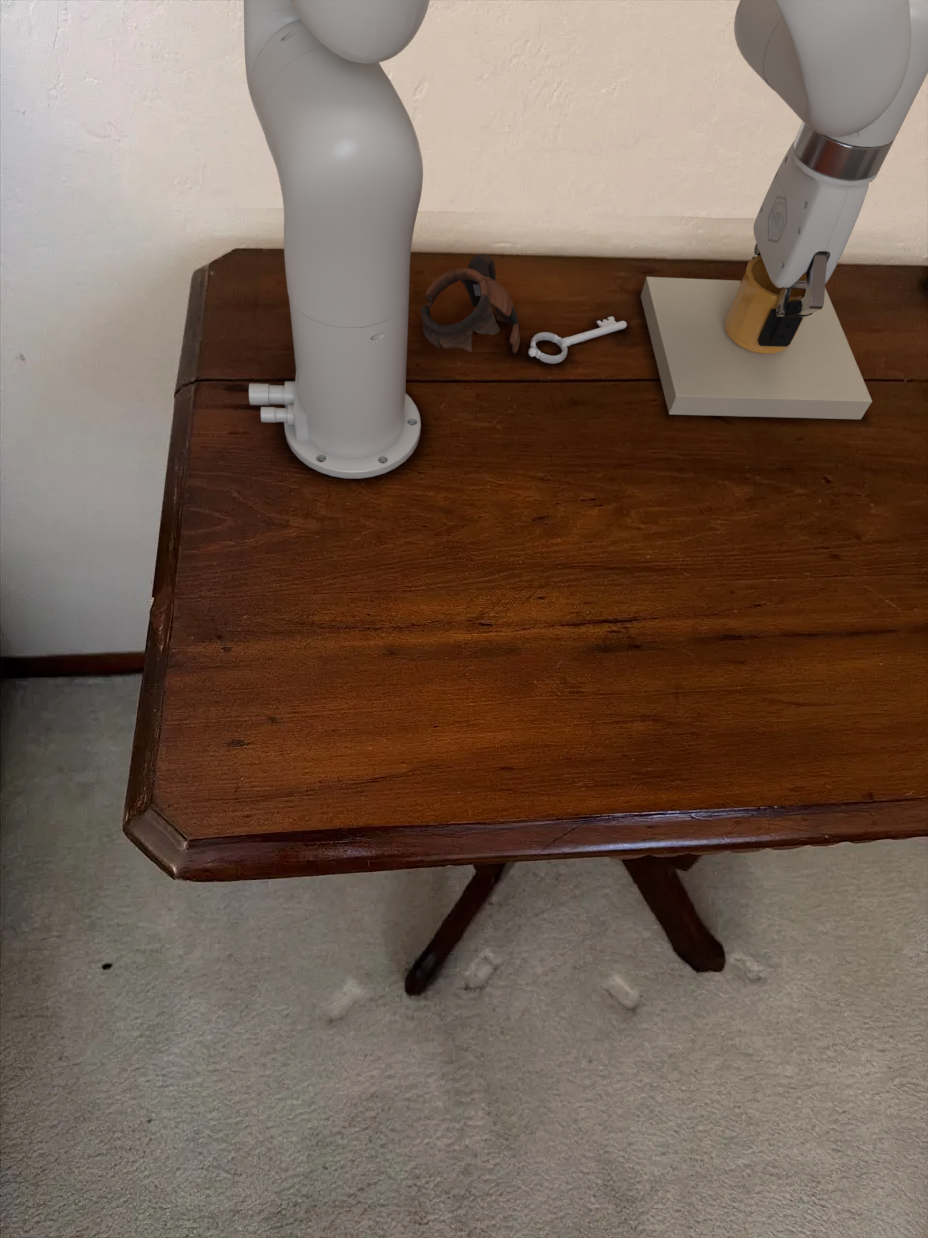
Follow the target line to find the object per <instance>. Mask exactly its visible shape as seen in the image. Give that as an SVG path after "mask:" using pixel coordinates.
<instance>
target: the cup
mask: <svg viewBox="0 0 928 1238" xmlns="http://www.w3.org/2000/svg"><path fill="white" fill-rule="evenodd" d="M754 257H755V258H753V257H752V258H753V259H752V258H751V260H750V261H748V263H747V265H746V266H745V267H746V268H745V270H744V273H743V275H742V278H741V280H740V281H741V282H740V285H739V287H738V290H737V292H736V294H735V297H734V299H733V302H732V304H731V307H730V309H729V312H728V315H727V318H726V320H725V329H726V331H727V333H728V335H729V336H730V338H731V339H732V340H733V341H734V342H735V343H737V344H738V345H740V346H741V347H743V348H745V349H747V350H750V351H753V352H757V353H763V354H772V353H778V352H781V351H783V350H785V349H786V348H787V347H788V346H787V347H776V346H760V345H759V344H758V338H759V335H760V333H761V331H762V329H763V327H764V324H765V322H766V320H767V318H768V316H769V313H770V311H771V309H776V308H777V303H778V299H779V294H780V289H781V288H777V287H776V286H775V285H774V284H773V283H772V281H771V279H770V277H769V275H768V273H767V270H766V267H765V265H764V262H763V259H762V257H761V255H759V256H758V255H755V256H754ZM806 277H807V274H803V275H802V276H801V277H800V278H799V279H798V280H802V281H806ZM802 293H803V289H791V293H790V298H789V302H792V301H800V300H801V297H802ZM789 302H788V303H789ZM803 319H804V318H803ZM803 319H802V321H803ZM802 321H801V323H802ZM801 323H800V325H801ZM800 325H799V327H800ZM799 327H798V329H799ZM798 329H797V331H798ZM797 331H796V333H797ZM796 333H795V335H796ZM795 335H794V337H795ZM794 337H793V339H794ZM793 339H792V340H793ZM791 342H792V341H791ZM790 344H791V343H790Z"/></svg>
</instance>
